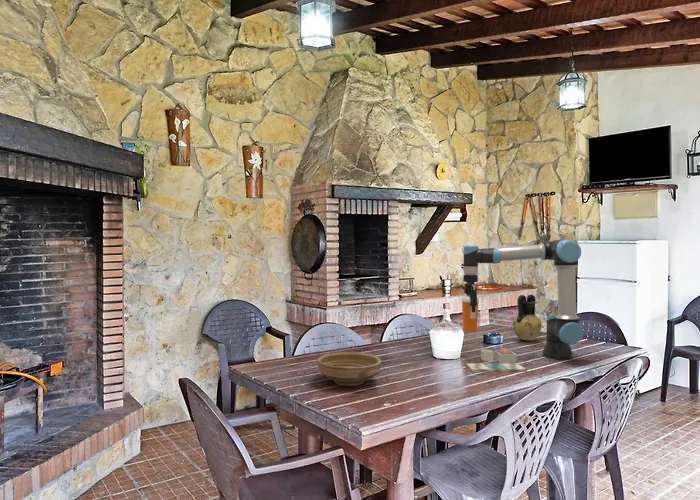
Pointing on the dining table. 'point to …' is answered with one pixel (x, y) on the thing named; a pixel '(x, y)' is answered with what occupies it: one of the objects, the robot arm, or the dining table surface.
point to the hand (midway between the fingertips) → (470, 316)
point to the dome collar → (505, 357)
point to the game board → (495, 367)
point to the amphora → (526, 320)
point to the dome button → (505, 351)
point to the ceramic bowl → (349, 367)
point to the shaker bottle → (468, 314)
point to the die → (487, 355)
